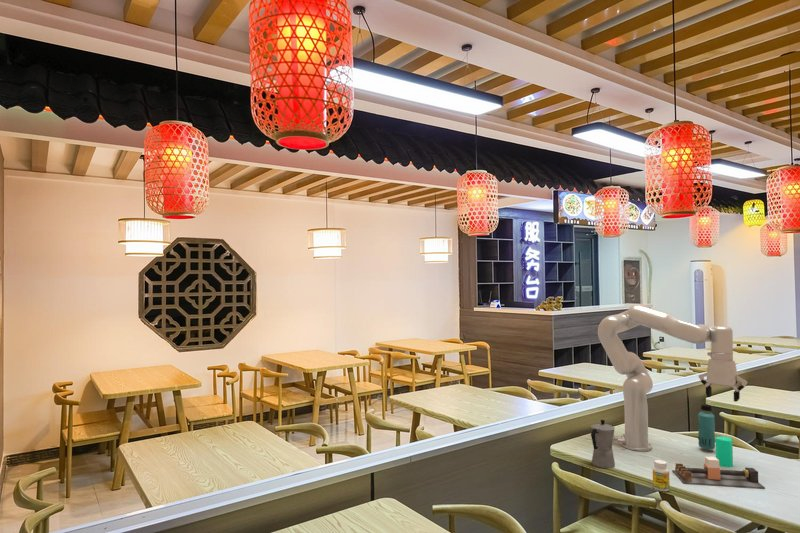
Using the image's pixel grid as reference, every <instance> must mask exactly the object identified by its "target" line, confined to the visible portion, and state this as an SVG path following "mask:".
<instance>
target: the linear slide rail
mask: <svg viewBox="0 0 800 533" xmlns="http://www.w3.org/2000/svg"><path fill="white" fill-rule="evenodd" d="M672 473H673V474H674V476H676V477H677V478H678V479H679V481H680V482H681V483H682V484H683V485H694V486H695V485H696V486H698V485H699V486H710V487H712V486H714V487H725V488H727V487H728V488H740V489H741V488H742V489H743V488H744V489H757V490H759V489H760V490H766V487H765V486H764V485H762V483H760V482H759V471H758V470H756V469H755V468H754V467H745V469H742V470H733V469H720V480H715V479H708V478H707V477H706V476H705V475H704V474H708V469H704V468H702V467H701V468H698V467H697V468H696V467H686V466H685V465H684V464H683V463H680V462H679V463H678V462H677V463H675V467H674V469H672Z"/></svg>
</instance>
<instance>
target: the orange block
mask: <svg viewBox="0 0 800 533" xmlns="http://www.w3.org/2000/svg"><path fill="white" fill-rule="evenodd" d="M703 469H708V474H704V475H705V476H706V477H707V478H708V479H715V480H720V470H721V468H720V466H719V460H718V459H717V458H716V456H704V463H703Z"/></svg>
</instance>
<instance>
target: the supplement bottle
mask: <svg viewBox="0 0 800 533" xmlns="http://www.w3.org/2000/svg"><path fill="white" fill-rule="evenodd" d="M653 463H654V466H653V467H652V487H653V489H654V490H656V491H660V492H668V491H670V488H671V487H670V486H671V485H670V469H669V468H668V464H667V463H668V462H667V461H665V460H662V459H655V460H654V462H653Z"/></svg>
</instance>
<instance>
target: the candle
mask: <svg viewBox="0 0 800 533" xmlns="http://www.w3.org/2000/svg"><path fill="white" fill-rule="evenodd" d="M733 450H734V449H733V438H731V437H729V436H715V458H717V459H718V460H719V467H725V468H732V467H734V466H733V465H734V462H733V461H734V458H733V457H734V456H733V454H734V452H733Z"/></svg>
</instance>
